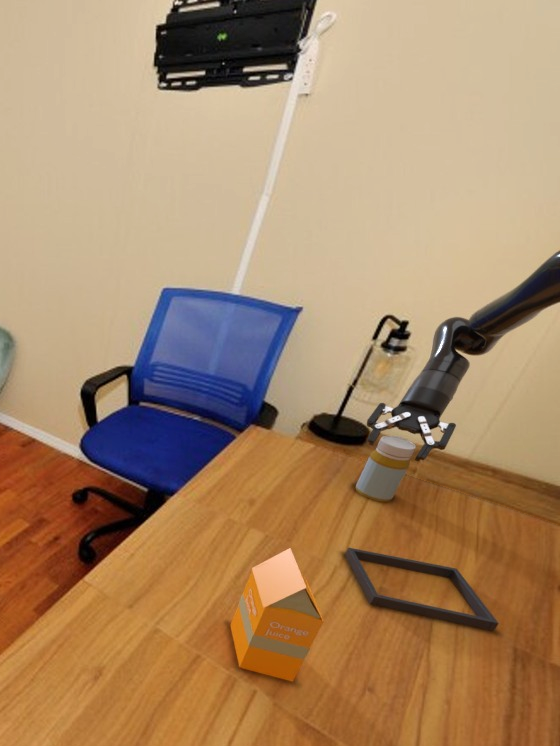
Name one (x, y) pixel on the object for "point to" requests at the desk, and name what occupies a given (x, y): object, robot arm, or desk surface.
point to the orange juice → (275, 619)
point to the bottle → (385, 468)
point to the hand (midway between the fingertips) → (393, 451)
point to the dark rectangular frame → (479, 621)
